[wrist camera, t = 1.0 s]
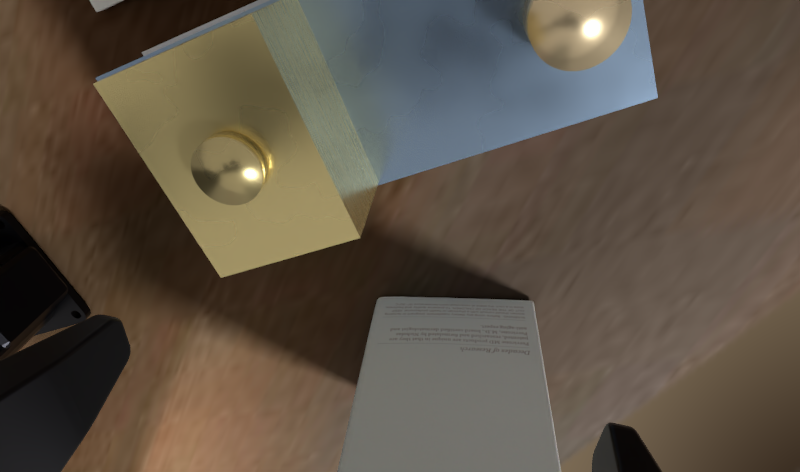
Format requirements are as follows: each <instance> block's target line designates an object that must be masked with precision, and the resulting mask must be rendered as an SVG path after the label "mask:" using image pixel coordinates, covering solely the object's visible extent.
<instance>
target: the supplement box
mask: <svg viewBox="0 0 800 472" xmlns="http://www.w3.org/2000/svg"><path fill="white" fill-rule="evenodd" d="M337 472H561V468H560V462H559V456H558V450H557V444H556V438H555V432H554V425H553V419H552V413H551V407H550V401H549V395H548V388H547V382H546V376H545V370H544V364H543V358H542V352H541V345H540V339H539V332H538V327H537V321H536V314H535V308H534V302H533V301H527V300H507V299H474V298H438V297H403V296H401V297H396V296H393V297H380V298H378V299H377V302H376V305H375V309H374V314H373V318H372V322H371V326H370V331H369V335H368V339H367V344H366V348H365V353H364V357H363V361H362V366H361V370H360V374H359V378H358V383H357V387H356V391H355V396H354V400H353V405H352V409H351V414H350V418H349V423H348V427H347V432H346V436H345V440H344V445H343V449H342V454H341V458H340V462H339V467H338V471H337Z"/></svg>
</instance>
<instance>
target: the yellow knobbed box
mask: <svg viewBox="0 0 800 472" xmlns="http://www.w3.org/2000/svg"><path fill="white" fill-rule="evenodd" d="M93 85H94V86H95V88H96V89H97V91H98V92H99V94H100V95H101V97H102V98H103V100H104V101H105V103H106V104H107V106H108V107H109V109H110V110H111V112H112V113H113V115H114V116H115V118H116V119H117V121H118V122H119V124H120V126H121V127H122V129H123V130H124V132H125V133H126V135H127V136H128V138H129V139H130V141H131V142H132V144H133V145H134V147H135V148H136V150H137V151H138V153H139V154H140V156H141V157H142V159H143V160H144V162H145V163H146V165H147V167H148V168H149V170H150V171H151V173H152V174H153V176H154V177H155V179H156V180H157V182H158V183H159V185H160V186H161V188H162V189H163V191H164V192H165V194H166V195H167V197H168V198H169V200H170V201H171V203H172V204H173V206H174V207H175V209H176V211H177V212H178V214H179V215H180V217H181V218H182V220H183V221H184V223H185V224H186V226H187V227H188V229H189V230H190V232H191V233H192V235H193V236H194V238H195V239H196V241H197V242H198V244H199V245H200V247H201V248H202V250H203V252H204V253H205V255H206V256H207V258H208V259H209V261H210V262H211V264H212V265H213V267H214V268H215V270H216V271H217V273H218V274H219V276H220V277H221V278H222V277H226V276H229V275H233V274H236V273H240V272H243V271H247V270H250V269H254V268H257V267H261V266H264V265H268V264H271V263H275V262H278V261H282V260H285V259H289V258H292V257H296V256H299V255H303V254H306V253H310V252H313V251H317V250H320V249H324V248H327V247H331V246H334V245H338V244H341V243H345V242H348V241H352V240H355V239H359V238H361V235H362V231H363V228H364V225H365V222H366V219H367V216H368V213H369V210H370V207H371V204H372V201H373V198H374V195H375V192H376V189H377V186H378V183H379V182H378V179H377V177H376V175H375V173H374V170H373V168H372V166H371V164H370V161H369V159H368V157H367V154H366V152H365V150H364V148H363V145H362V143H361V141H360V139H359V136H358V134H357V132H356V130H355V127H354V125H353V123H352V120H351V118H350V116H349V114H348V111H347V109H346V107H345V105H344V102H343V100H342V98H341V96H340V93H339V91H338V89H337V86H336V84H335V82H334V80H333V77H332V75H331V73H330V71H329V68H328V66H327V64H326V62H325V59H324V57H323V55H322V53H321V50H320V48H319V46H318V43H317V41H316V39H315V37H314V34H313V32H312V30H311V28H310V25H309V23H308V21H307V19H306V16H305V14H304V12H303V9H302V7H301V5H300V3H299V0H279V1H277V2H275V3H273V4H270V5H268V6H266V7H263V8H261V9H259V10H257V11H254V12H252V13H250V14H248V15H245V16H243V17H241V18H239V19H236V20H234V21H232V22H230V23H227V24H225V25H223V26H220V27H218V28H216V29H214V30H211V31H209V32H207V33H205V34H202V35H200V36H198V37H196V38H193V39H191V40H189V41H187V42H184V43H182V44H180V45H177V46H175V47H173V48H171V49H168V50H166V51H164V52H162V53H159V54H157V55H155V56H153V57H151V58H149V59H146V60H144V61H142V62H140V63H138V64H135V65H133V66H131V67H129V68H127V69H124V70H122V71H120V72H118V73H116V74H113V75H111V76H109V77H107V78H105V79H102V80H100V81H98V82H96V83H94V84H93Z"/></svg>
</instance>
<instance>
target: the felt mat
mask: <svg viewBox="0 0 800 472" xmlns="http://www.w3.org/2000/svg"><path fill="white" fill-rule="evenodd" d="M89 1H90V2H91V4H92V6H93V7H94V9H95V11H96V12H99V11H103V10H105V9H107V8H109V7H111V6H113V5H115V4H118V3H120V2H122V1H124V0H89Z"/></svg>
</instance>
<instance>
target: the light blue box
mask: <svg viewBox="0 0 800 472" xmlns="http://www.w3.org/2000/svg"><path fill="white" fill-rule="evenodd" d="M277 1H279V0H257V1H255V2H253V3H251V4H248V5H246V6H244V7H242V8H239V9H237V10H235V11H233V12H231V13H228V14H226V15H224V16H222V17H219V18H217V19H215V20H213V21H210V22H208V23H206V24H204V25H202V26H199V27H197V28H195V29H193V30H190V31H188V32H186V33H184V34H181V35H179V36H177V37H175V38H172V39H170V40H168V41H166V42H164V43H161V44H159V45H157V46H155V47H152V48H150V49H148V50H146V51H143V52H141V53H142V54H143V57H141V58H139V59H137V60H134V61H132V62H130V63H128V64H125V65H123V66H121V67H119V68H116V69H114V70H112V71H110V72H107V73H105V74H103V75H101V76H98V77H96V79H97V81H100V80H102V79H105V78H107V77H109V76H111V75H113V74H116V73H118V72H120V71H122V70H124V69H127V68H129V67H131V66H133V65H135V64H138V63H140V62H142V61H144V60H146V59H149V58H151V57H153V56H155V55H157V54H159V53H162V52H164V51H166V50H168V49H171V48H173V47H175V46H177V45H180V44H182V43H184V42H187V41H189V40H191V39H193V38H196V37H198V36H200V35H202V34H205V33H207V32H209V31H211V30H214V29H216V28H218V27H220V26H223V25H225V24H227V23H230V22H232V21H234V20H236V19H239V18H241V17H243V16H245V15H248V14H250V13H252V12H254V11H257V10H259V9H261V8H263V7H266V6H268V5H270V4H273V3H275V2H277ZM299 3H300V5H301V7H302V9H303V12H304V14H305V16H306V19H307V21H308V23H309V25H310V28H311V30H312V32H313V34H314V37H315V39H316V41H317V43H318V46H319V48H320V50H321V53H322V55H323V57H324V59H325V62H326V64H327V66H328V68H329V71H330V73H331V75H332V77H333V80H334V82H335V84H336V86H337V89H338V91H339V93H340V96H341V98H342V100H343V102H344V105H345V107H346V109H347V111H348V114H349V116H350V118H351V120H352V123H353V125H354V127H355V130H356V132H357V134H358V136H359V139H360V141H361V143H362V145H363V148H364V150H365V152H366V154H367V157H368V159H369V161H370V164H371V166H372V168H373V170H374V173H375V175H376V177H377V179H378V182H379V183H378V185H381V184H384V183H387V182H390V181H393V180H397V179H400V178H403V177H406V176H409V175H413V174H416V173H419V172H422V171H425V170H429V169H432V168H435V167H438V166H441V165H445V164H448V163H451V162H454V161H457V160H461V159H464V158H467V157H470V156H473V155H477V154H480V153H483V152H486V151H489V150H493V149H496V148H499V147H502V146H505V145H509V144H512V143H515V142H518V141H521V140H525V139H528V138H531V137H534V136H537V135H541V134H544V133H547V132H550V131H553V130H557V129H560V128H563V127H566V126H569V125H573V124H576V123H579V122H582V121H585V120H589V119H592V118H595V117H598V116H601V115H605V114H608V113H611V112H614V111H617V110H621V109H624V108H627V107H630V106H633V105H636V104H640V103H643V102H646V101H649V100H652V99H656V98H658V96H657V89H656V83H655V76H654V70H653V63H652V57H651V50H650V44H649V37H648V31H647V24H646V18H645V11H644V5H643V0H299Z"/></svg>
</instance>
